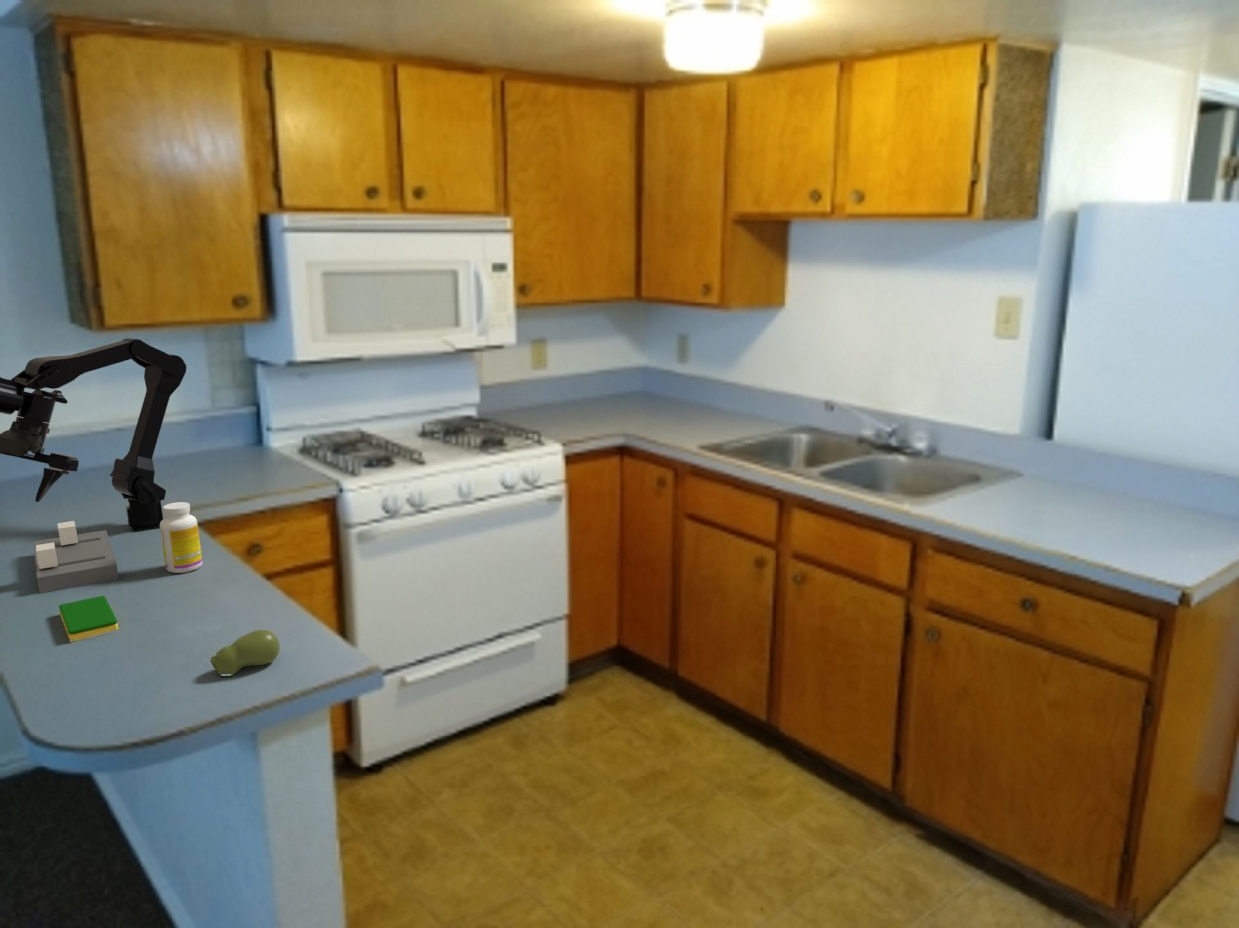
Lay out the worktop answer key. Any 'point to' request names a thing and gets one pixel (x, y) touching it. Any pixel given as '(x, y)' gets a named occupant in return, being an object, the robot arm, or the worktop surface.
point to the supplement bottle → (180, 539)
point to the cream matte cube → (67, 532)
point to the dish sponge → (88, 618)
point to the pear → (247, 652)
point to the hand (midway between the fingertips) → (12, 496)
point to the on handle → (46, 555)
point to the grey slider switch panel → (78, 563)
